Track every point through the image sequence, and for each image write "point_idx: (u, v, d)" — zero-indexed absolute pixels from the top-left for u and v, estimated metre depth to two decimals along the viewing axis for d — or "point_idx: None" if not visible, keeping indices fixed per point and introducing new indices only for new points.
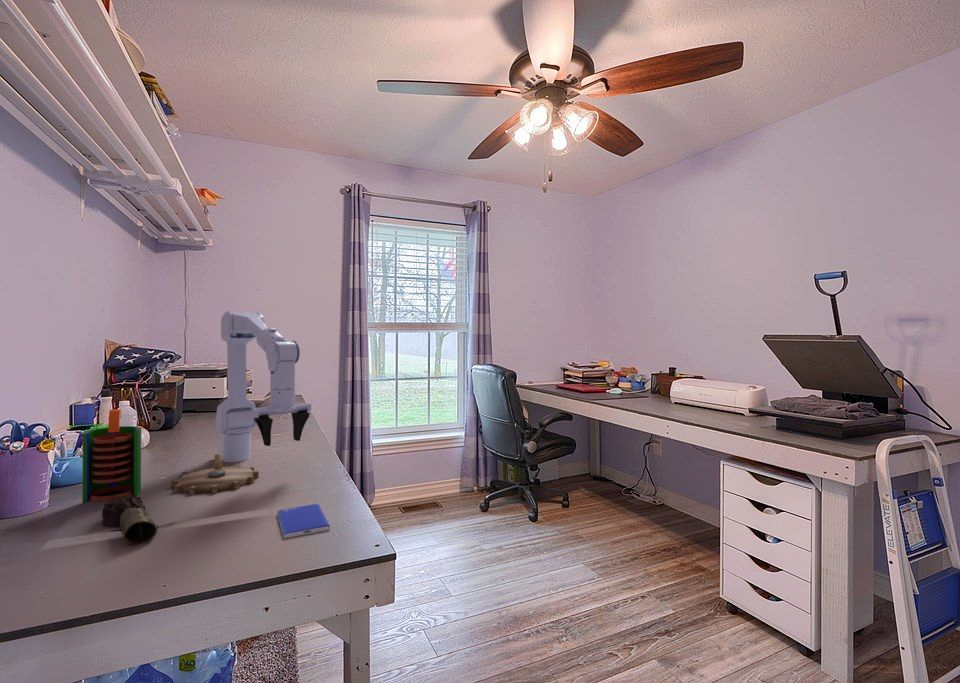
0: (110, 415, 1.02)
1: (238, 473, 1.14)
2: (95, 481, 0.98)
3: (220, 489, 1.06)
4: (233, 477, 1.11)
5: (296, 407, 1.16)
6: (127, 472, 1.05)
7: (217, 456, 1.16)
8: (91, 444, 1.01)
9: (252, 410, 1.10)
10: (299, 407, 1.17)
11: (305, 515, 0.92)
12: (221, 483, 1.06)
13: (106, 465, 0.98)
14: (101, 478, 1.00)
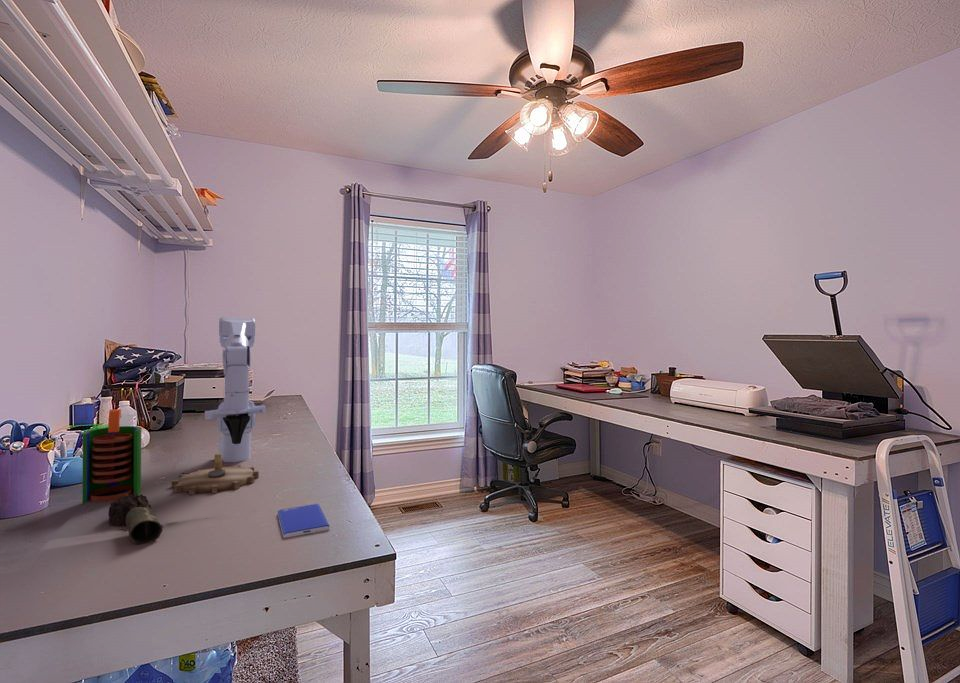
0: (110, 415, 1.02)
1: (238, 473, 1.14)
2: (95, 481, 0.98)
3: (220, 489, 1.06)
4: (233, 477, 1.11)
5: (250, 409, 1.21)
6: (127, 472, 1.05)
7: (217, 456, 1.16)
8: (91, 444, 1.01)
9: (205, 412, 1.15)
10: (253, 409, 1.22)
11: (305, 515, 0.92)
12: (221, 483, 1.06)
13: (106, 465, 0.98)
14: (101, 478, 1.00)
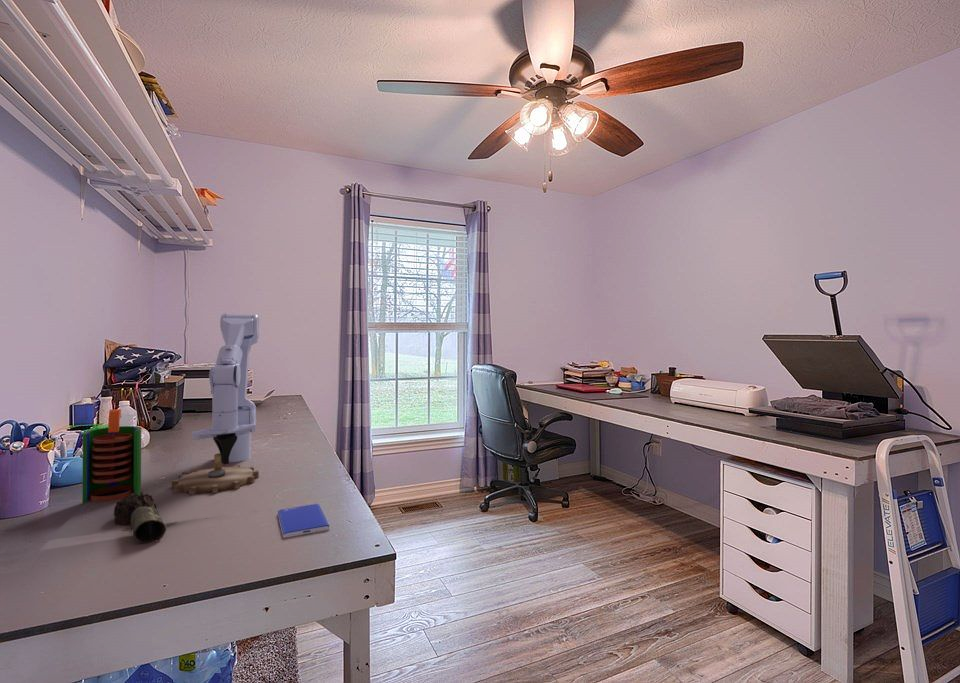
0: (110, 415, 1.02)
1: (238, 473, 1.14)
2: (95, 481, 0.98)
3: (221, 489, 1.06)
4: (233, 477, 1.11)
5: (238, 429, 1.19)
6: (127, 472, 1.05)
7: (217, 456, 1.16)
8: (91, 444, 1.01)
9: (193, 433, 1.13)
10: (242, 428, 1.20)
11: (305, 514, 0.92)
12: (221, 483, 1.06)
13: (106, 465, 0.98)
14: (101, 478, 1.00)
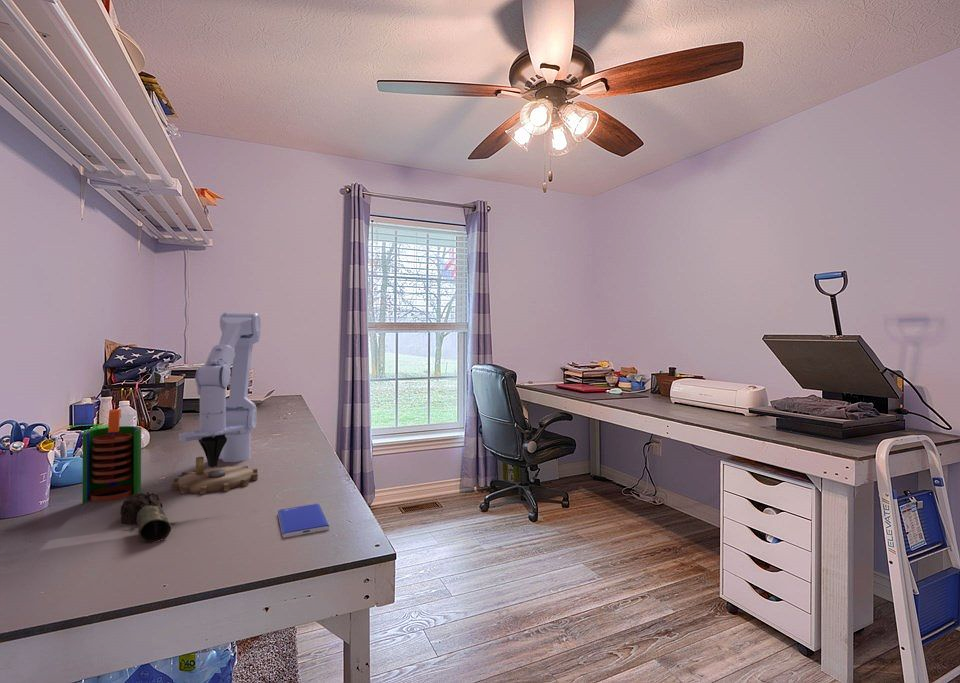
0: (110, 415, 1.02)
1: (232, 470, 1.17)
2: (95, 481, 0.98)
3: None
4: (239, 473, 1.14)
5: (226, 430, 1.16)
6: (127, 472, 1.05)
7: (201, 459, 1.13)
8: (91, 444, 1.01)
9: (179, 435, 1.11)
10: (230, 430, 1.17)
11: (305, 514, 0.92)
12: (244, 477, 1.11)
13: (106, 465, 0.98)
14: (101, 478, 1.00)
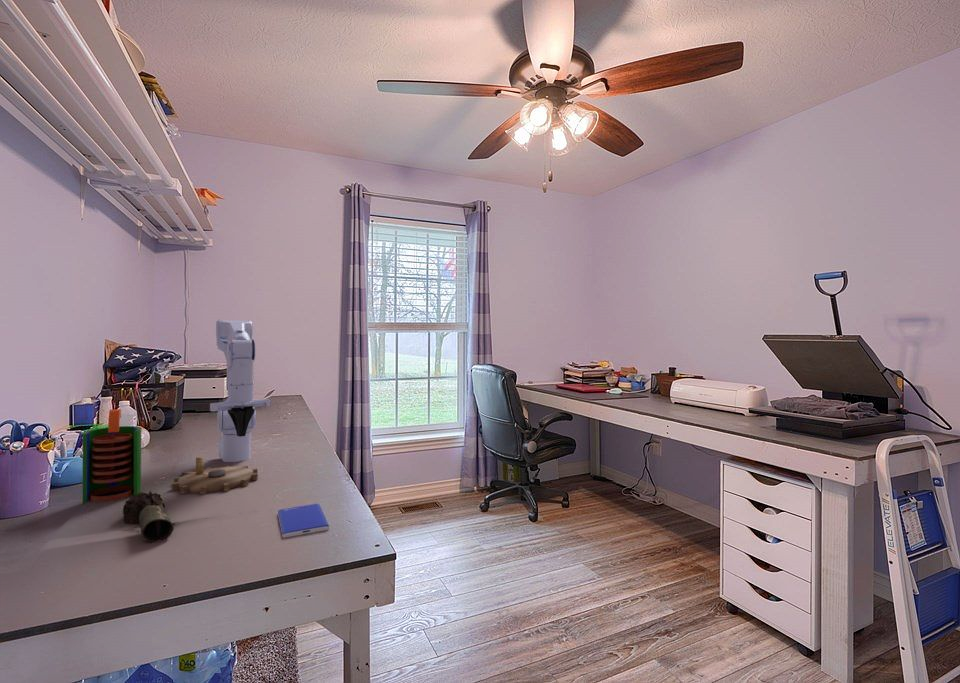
0: (110, 415, 1.02)
1: (232, 470, 1.17)
2: (95, 481, 0.98)
3: None
4: (239, 473, 1.14)
5: (254, 402, 1.22)
6: (127, 472, 1.05)
7: (201, 459, 1.13)
8: (91, 444, 1.01)
9: (210, 404, 1.16)
10: (257, 402, 1.23)
11: (305, 514, 0.92)
12: (244, 477, 1.11)
13: (106, 465, 0.98)
14: (101, 478, 1.00)
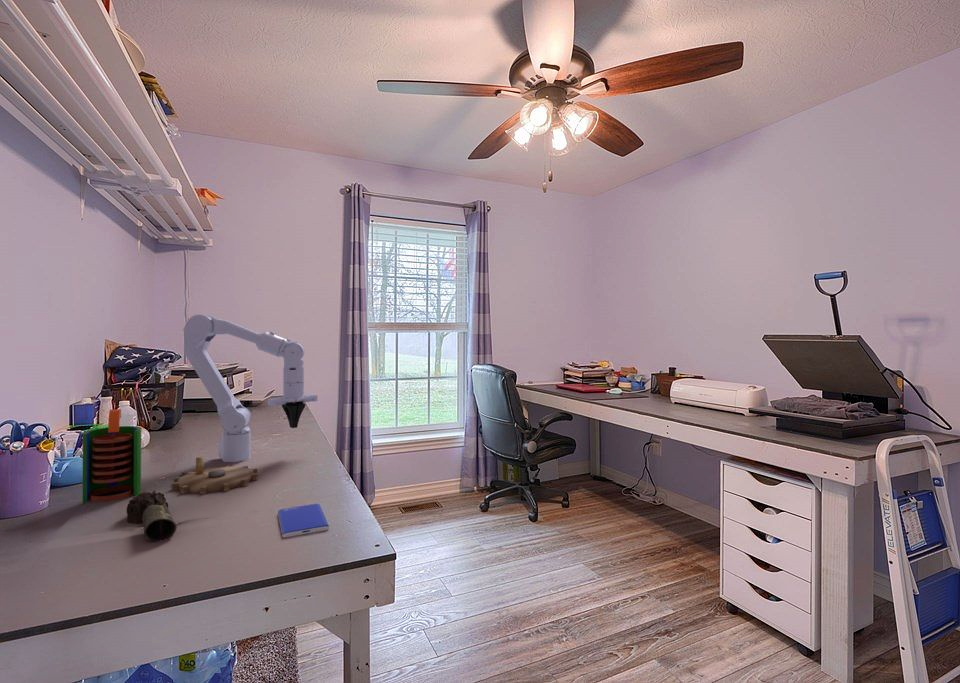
0: (110, 415, 1.02)
1: (232, 470, 1.17)
2: (95, 481, 0.98)
3: None
4: (239, 473, 1.14)
5: (305, 397, 1.38)
6: (127, 472, 1.05)
7: (201, 459, 1.13)
8: (91, 444, 1.01)
9: (268, 400, 1.33)
10: (307, 398, 1.39)
11: (305, 514, 0.92)
12: (244, 477, 1.11)
13: (106, 465, 0.98)
14: (101, 478, 1.00)
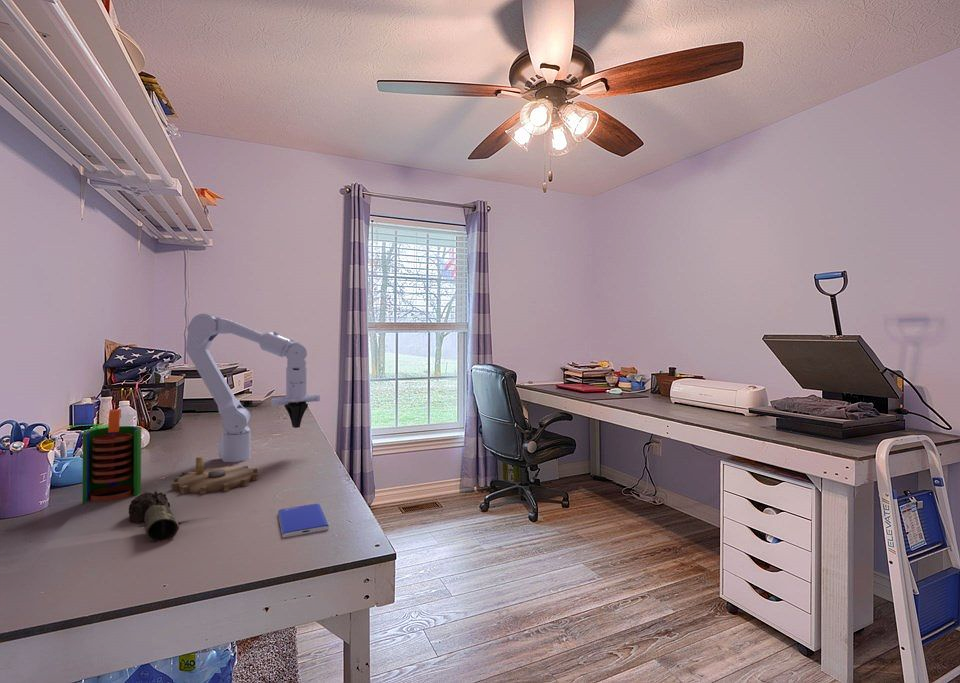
0: (110, 415, 1.02)
1: (232, 470, 1.17)
2: (95, 481, 0.98)
3: None
4: (239, 473, 1.14)
5: (307, 398, 1.39)
6: (127, 472, 1.05)
7: (201, 459, 1.13)
8: (91, 444, 1.01)
9: (272, 400, 1.34)
10: (310, 398, 1.40)
11: (305, 514, 0.92)
12: (244, 477, 1.11)
13: (106, 465, 0.98)
14: (101, 478, 1.00)
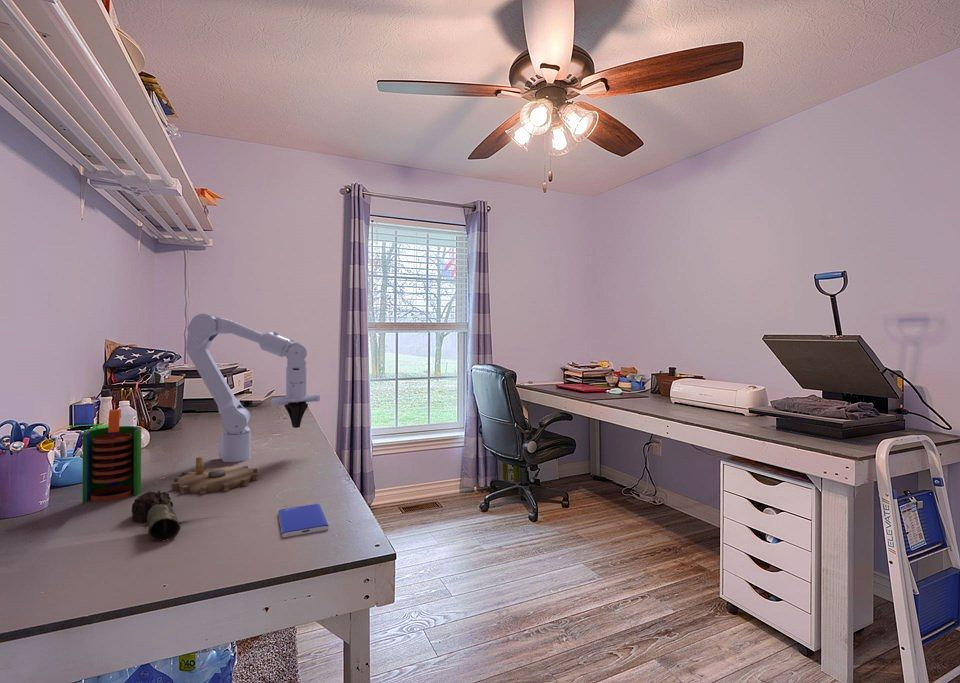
0: (110, 415, 1.02)
1: (232, 470, 1.17)
2: (95, 481, 0.98)
3: None
4: (239, 473, 1.14)
5: (307, 398, 1.39)
6: (127, 472, 1.05)
7: (201, 459, 1.13)
8: (91, 444, 1.01)
9: (272, 400, 1.34)
10: (310, 398, 1.40)
11: (305, 514, 0.92)
12: (244, 477, 1.11)
13: (106, 465, 0.98)
14: (101, 478, 1.00)
